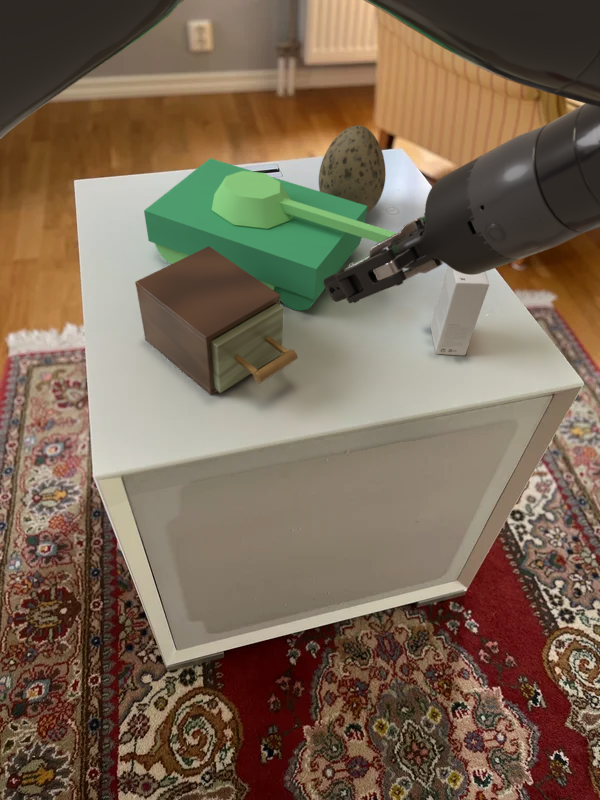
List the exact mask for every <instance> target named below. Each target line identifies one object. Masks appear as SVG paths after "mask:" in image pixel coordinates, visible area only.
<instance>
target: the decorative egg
mask: <svg viewBox="0 0 600 800" xmlns="http://www.w3.org/2000/svg"><path fill="white" fill-rule="evenodd" d="M386 177H387V176H386V162H385V158H384V154H383V150H382V147H381V145H380V143H379V140H378V139H377V137H376V136H375V134H374V133H373V132H372V131H371V130H370V129H369V128H367V127H366V126H363V125H358V124H357V125H352V126H349V127H347V128H346V129H344V130H342V131H341V132H340V133H339V134H338V135H337V136H336V137H335V138H334V139H333V140H332V142H331V143H330V145H329V146H328V148H327V149H326V152H325V154H324V156H323V158H322V161H321V164H320V167H319V172H318V189H319V190H318V191H320V192H323V193H326V194H330V195H333V196H336V197H340V198H343V199H346V200H349V201H353V202H356V203H359V204H363V205H366V206H368V207H367V214H368V213H370V212H371V211H372V210H373V209H374V208H375V207H376V205H377V204H378V202H379V201H380V199H381V197H382V195H383V192H384V190H385V189H384V188H385V185H386Z"/></svg>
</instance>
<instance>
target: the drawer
mask: <svg viewBox="0 0 600 800" xmlns="http://www.w3.org/2000/svg"><path fill="white" fill-rule="evenodd" d="M283 326H284V306H282V305H281V304H280V305H279V304H277V303H276V304H274V305H273V306H271V307H269V308H268V309H266V310H265V309H264V310H262V311H260V312H259V313H257V314H255V315H253V316H252V317H250V318H248V319H247V320H245V321H243V322H241V323H240V324H238V325H236V326H235V327H233V328H231V329H229V330H228V331H226V332H224V333H223V334H221V335H219V336H217V337H216V338H214V339H212V341H211V349H212V363H213V377H214V388H215V389H216V390H217V391H216V392H218V393H219V394H222V393H223V392H224V391H226V390H228V389H229V388H231V387H233V386H234V385H236V384H237V383H239V382H241V381H242V380H243V379H245V378H246V377H248V376H249V375H252V377H253V380H254V381H255V382H256V383H258V384H262V383H263V382H265V381H266V380H267V379H269V378H271V377H272V376H273V375H275V374H277V373H278V372H280V371H281V370H283V369H285V368H286V367H287V366H289V365H290V364H292V363H294V361H297V360H298V357H299V356H298V354H297V352H296V351H295V350H294V349H289V350H288V349H287V348H286V347H285V346H283V331H284V329H283Z"/></svg>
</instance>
